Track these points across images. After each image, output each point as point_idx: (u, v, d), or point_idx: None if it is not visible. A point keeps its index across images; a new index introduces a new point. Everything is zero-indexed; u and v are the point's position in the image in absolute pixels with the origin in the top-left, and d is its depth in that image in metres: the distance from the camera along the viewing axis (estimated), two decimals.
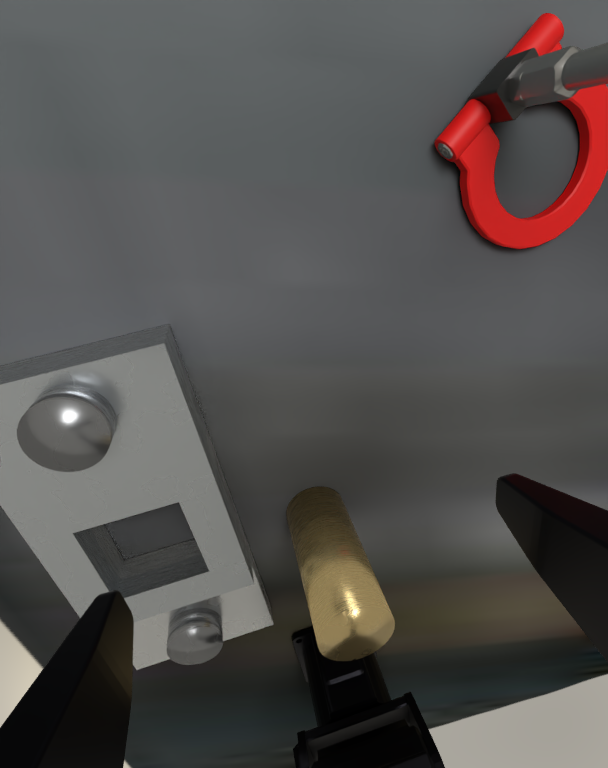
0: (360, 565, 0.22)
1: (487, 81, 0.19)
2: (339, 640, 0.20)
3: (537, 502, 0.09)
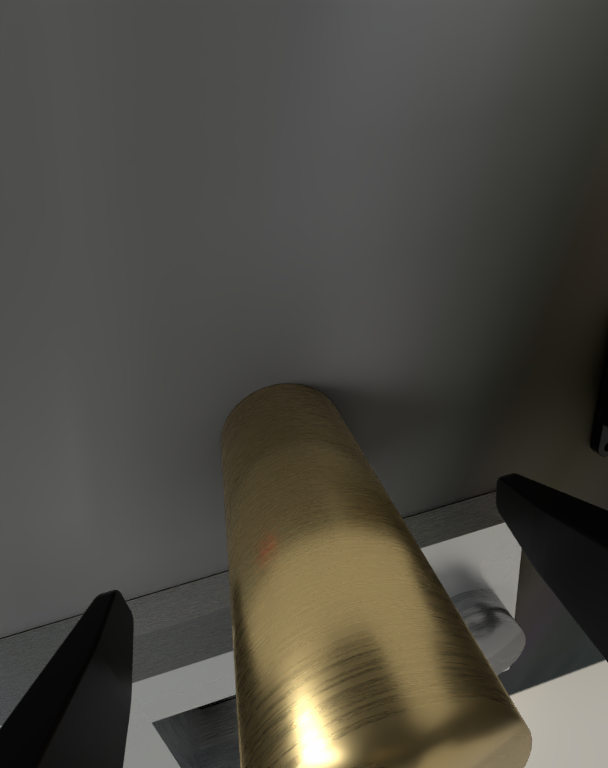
0: (245, 605, 0.07)
1: None
2: None
3: (537, 502, 0.09)
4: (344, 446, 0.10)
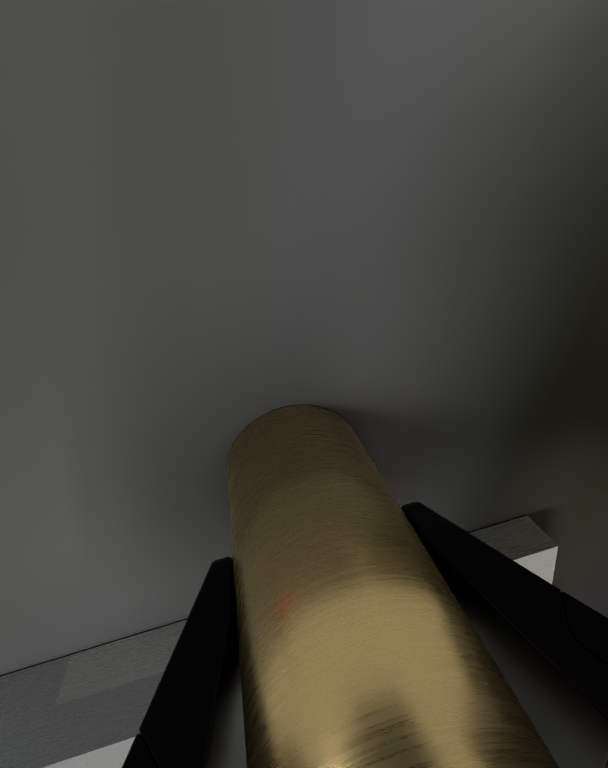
0: (260, 698, 0.06)
1: None
2: None
3: (427, 535, 0.08)
4: (370, 483, 0.09)
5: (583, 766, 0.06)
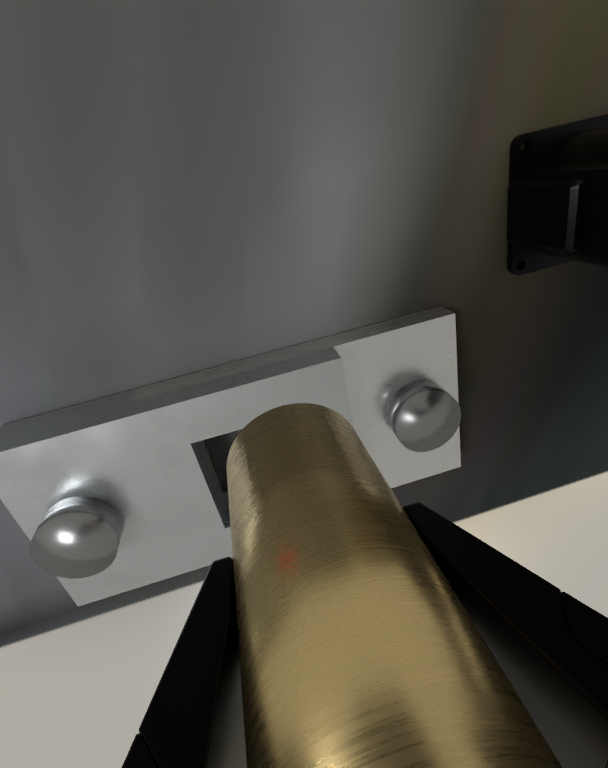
0: (260, 695, 0.06)
1: None
2: None
3: (427, 535, 0.08)
4: (370, 481, 0.09)
5: (583, 766, 0.06)
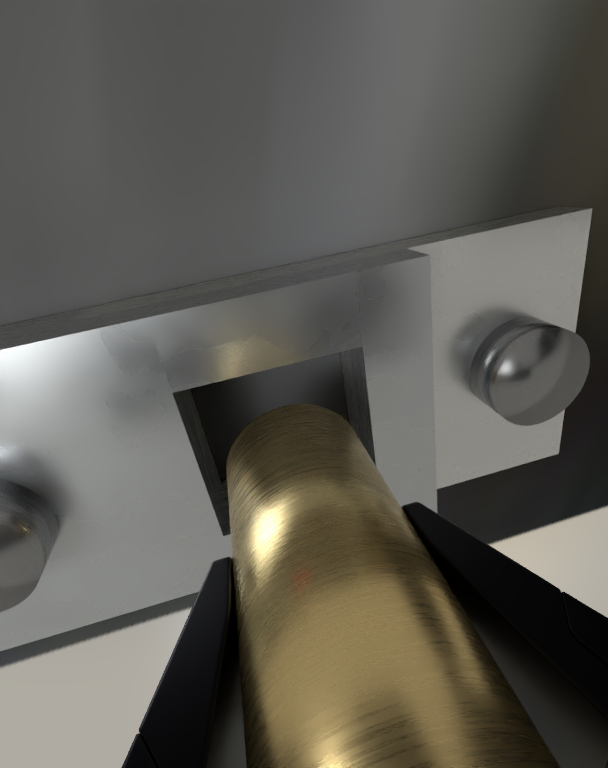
0: (260, 697, 0.06)
1: None
2: None
3: (427, 535, 0.08)
4: (369, 482, 0.09)
5: (583, 766, 0.06)
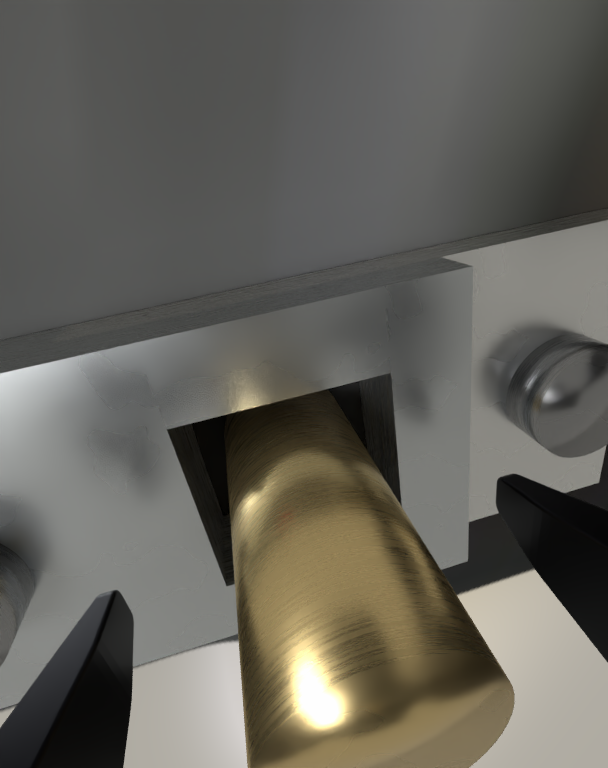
0: (248, 576, 0.07)
1: None
2: None
3: (537, 502, 0.09)
4: (342, 433, 0.10)
5: None
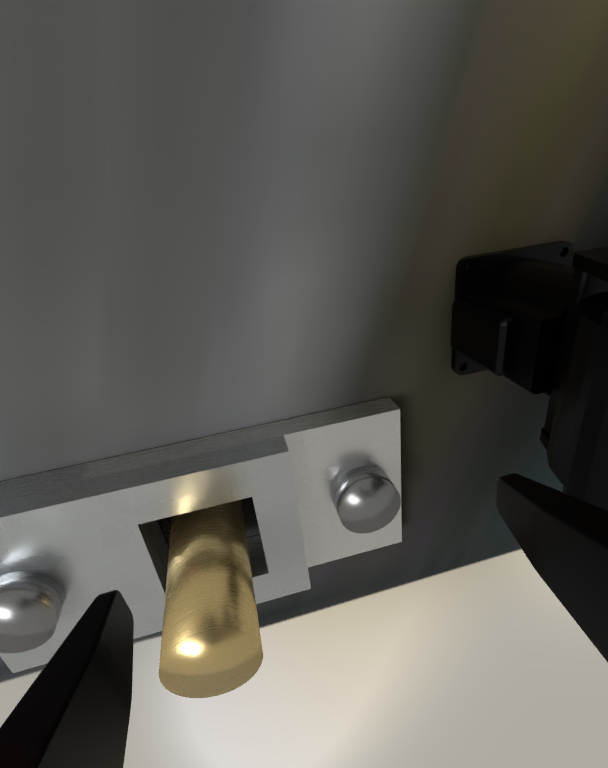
0: (168, 599, 0.18)
1: None
2: (216, 678, 0.17)
3: (537, 502, 0.09)
4: (227, 525, 0.21)
5: None
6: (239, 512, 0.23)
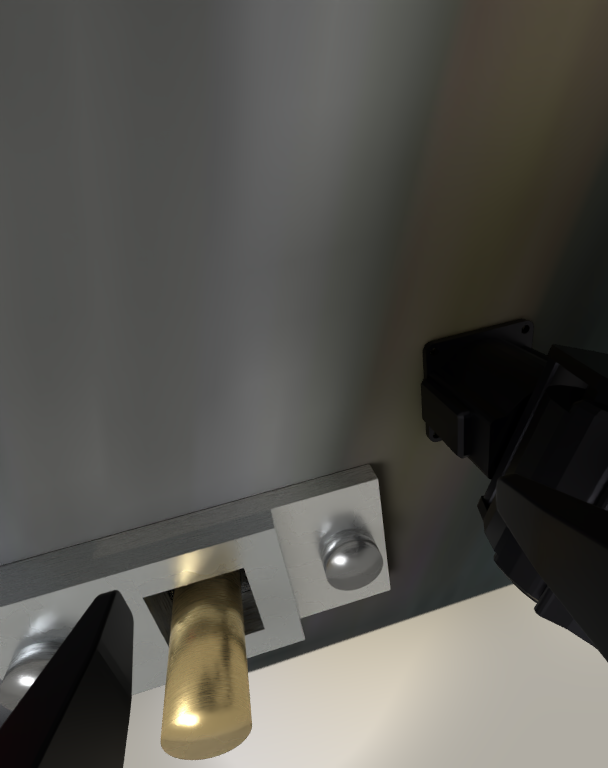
0: (169, 671, 0.20)
1: None
2: (211, 744, 0.19)
3: (537, 502, 0.09)
4: (222, 594, 0.23)
5: None
6: (235, 576, 0.25)
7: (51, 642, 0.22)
